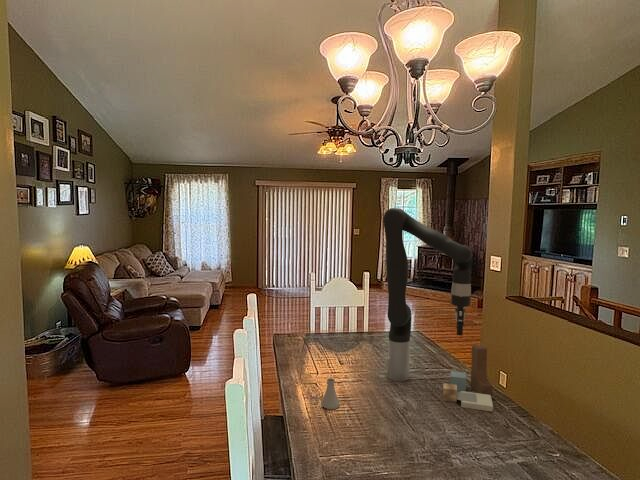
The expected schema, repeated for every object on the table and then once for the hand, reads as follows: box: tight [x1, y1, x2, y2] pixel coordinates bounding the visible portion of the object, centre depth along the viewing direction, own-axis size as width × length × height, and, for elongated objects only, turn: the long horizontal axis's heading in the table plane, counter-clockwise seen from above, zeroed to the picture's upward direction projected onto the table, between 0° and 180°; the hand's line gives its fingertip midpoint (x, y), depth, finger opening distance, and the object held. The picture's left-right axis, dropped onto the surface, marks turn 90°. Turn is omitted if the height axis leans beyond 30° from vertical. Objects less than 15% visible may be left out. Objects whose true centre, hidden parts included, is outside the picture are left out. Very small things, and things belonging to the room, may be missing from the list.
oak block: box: [442, 382, 458, 403], centre depth 157 cm, size 5×5×5 cm
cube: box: [449, 370, 467, 392], centre depth 166 cm, size 6×6×6 cm
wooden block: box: [470, 344, 493, 396], centre depth 163 cm, size 9×4×18 cm, turn 8°
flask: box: [321, 377, 341, 410], centre depth 150 cm, size 7×7×10 cm
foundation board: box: [457, 391, 494, 413], centre depth 153 cm, size 13×10×2 cm
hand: (459, 332), depth 165 cm, fingers open, 8 cm apart
